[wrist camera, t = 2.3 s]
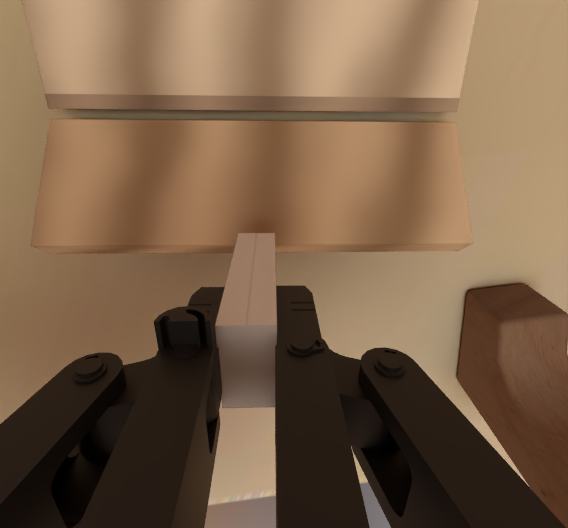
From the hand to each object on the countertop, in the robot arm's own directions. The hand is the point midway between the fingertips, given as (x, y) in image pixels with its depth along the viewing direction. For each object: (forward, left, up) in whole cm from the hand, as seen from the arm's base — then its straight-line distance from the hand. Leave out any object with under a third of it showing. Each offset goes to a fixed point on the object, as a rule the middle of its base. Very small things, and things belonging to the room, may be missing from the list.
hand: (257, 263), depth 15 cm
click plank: (0, +2, -6) cm, 6 cm away
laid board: (0, +9, -9) cm, 13 cm away
